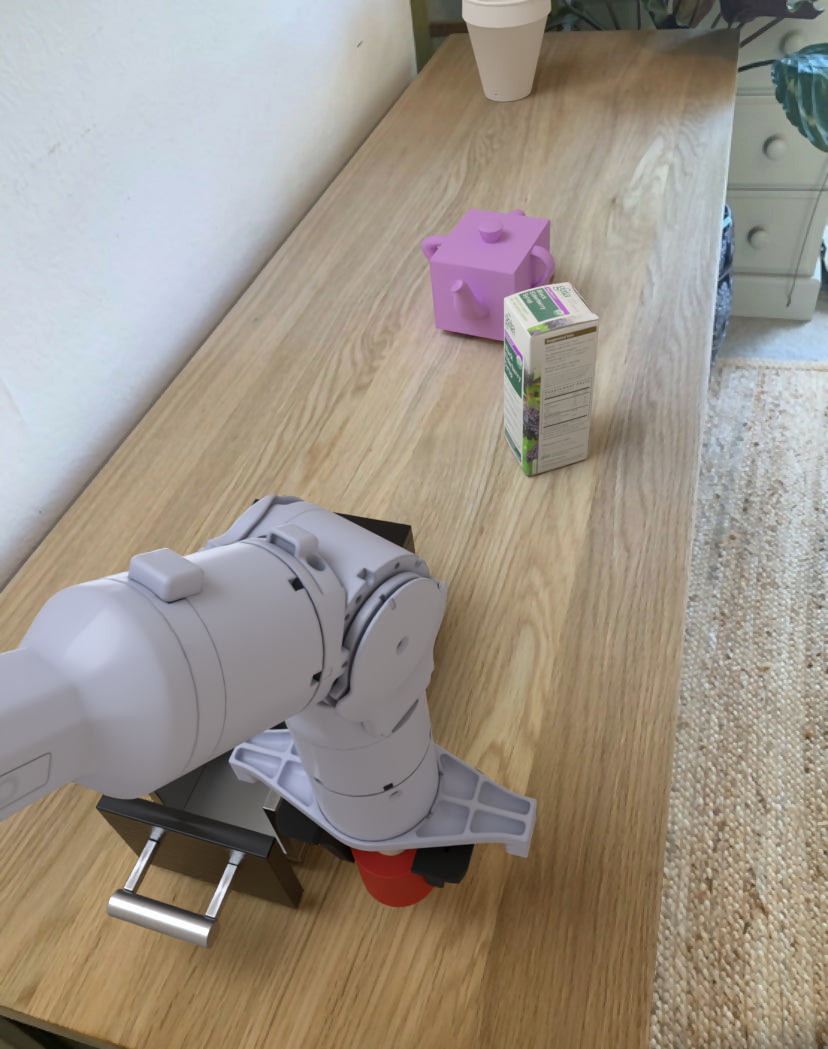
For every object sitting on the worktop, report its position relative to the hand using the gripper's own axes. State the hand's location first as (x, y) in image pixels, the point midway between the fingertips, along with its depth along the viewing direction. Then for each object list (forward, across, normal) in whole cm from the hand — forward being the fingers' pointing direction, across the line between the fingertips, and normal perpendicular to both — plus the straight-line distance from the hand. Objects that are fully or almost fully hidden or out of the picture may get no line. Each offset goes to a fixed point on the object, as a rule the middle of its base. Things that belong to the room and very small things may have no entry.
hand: (398, 856), depth 46 cm
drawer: (+5, +11, -1) cm, 12 cm away
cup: (+6, +21, -113) cm, 115 cm away
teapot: (+6, +10, -57) cm, 58 cm away
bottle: (+1, 0, 0) cm, 1 cm away
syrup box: (+6, 0, -39) cm, 40 cm away
